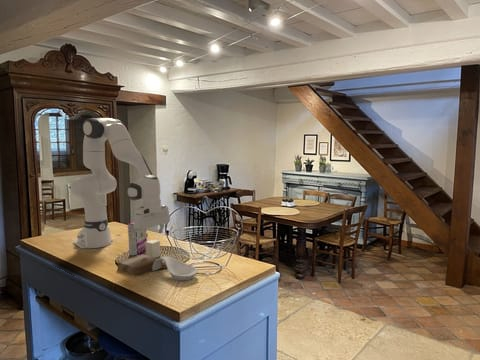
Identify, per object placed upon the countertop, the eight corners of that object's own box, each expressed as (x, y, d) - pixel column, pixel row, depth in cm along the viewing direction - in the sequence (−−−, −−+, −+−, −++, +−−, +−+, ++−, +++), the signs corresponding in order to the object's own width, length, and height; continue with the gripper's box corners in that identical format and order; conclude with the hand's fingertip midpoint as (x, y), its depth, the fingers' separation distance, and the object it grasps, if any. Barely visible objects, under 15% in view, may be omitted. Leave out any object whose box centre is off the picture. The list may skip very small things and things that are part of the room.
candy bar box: (138, 248, 194) (137, 219, 192) (147, 249, 193) (146, 219, 191) (128, 255, 183) (127, 224, 182) (137, 256, 182) (136, 224, 181)
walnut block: (117, 270, 164) (117, 261, 163) (142, 261, 175) (142, 253, 175) (137, 277, 156) (136, 268, 155) (162, 267, 167) (161, 259, 166)
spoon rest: (203, 277, 155) (202, 261, 154) (183, 286, 145) (183, 269, 144) (164, 266, 168) (164, 251, 167) (145, 274, 159) (144, 258, 158)
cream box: (146, 257, 181) (145, 241, 180) (153, 254, 185) (153, 239, 184) (152, 259, 178) (151, 243, 177) (160, 256, 182) (159, 241, 181)
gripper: (163, 204, 188) (164, 230, 190) (130, 210, 172) (132, 238, 174) (172, 205, 185) (173, 231, 186) (139, 211, 168) (140, 240, 170)
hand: (153, 235), depth 180 cm, fingers open, 8 cm apart
